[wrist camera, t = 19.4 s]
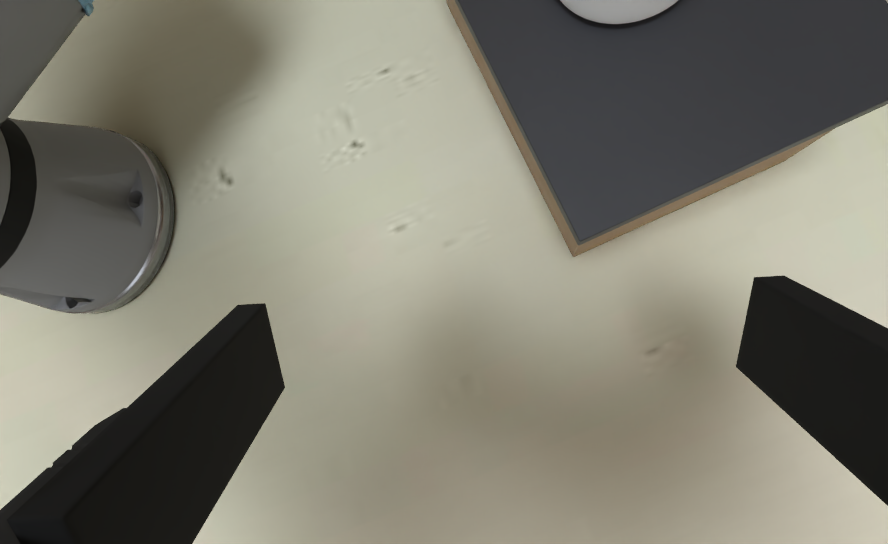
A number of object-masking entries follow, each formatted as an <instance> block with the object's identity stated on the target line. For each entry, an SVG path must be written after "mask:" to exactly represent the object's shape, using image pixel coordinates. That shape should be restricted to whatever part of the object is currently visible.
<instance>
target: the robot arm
mask: <svg viewBox="0 0 888 544" xmlns="http://www.w3.org/2000/svg"><path fill="white" fill-rule="evenodd" d="M93 1H94V0H0V294H2V295H5V296H8V297H11V298H15V299H18V300H21V301H25V302H28V303H31V304H35V305H38V306H41V307H45V308H48V309H51V310H56V311H62V312H67V313H102V312H107V311H111V310H114V309H116V308H119V307H121V306H123V305H125V304H126V303H128V302H129V301H131V300H132V299H134V298H135V297H136V296H137V295H139V294H140V293H141V292H142V291H143V290H144V289H145V288H146V286H147V285H148V284H149V283H150V282H151V280H152V279H153V278H154V276H155V275H156V273H157V271H158V270H159V268H160V266H161V264H162V262H163V260H164V258H165V255H166V253H167V250H168V247H169V244H170V241H171V236H172V231H173V224H174V201H173V193H172V189H171V185H170V182H169V178H168V176H167V174H166V171H165V169H164V168H163V166H162V164H161V162H160V161H159V160H158V158H157V157H156V156H155V155H154V153H153V152H152V151H150V150H149V149H148V148H147V147H146V146H144V145H143V144H141V143H140V142H138V141H136V140H133V139H131V138H129V137H126V136H124V135H121V134H119V133H116V132H114V131H110V130H105V129H101V128H96V127H87V126H76V125H66V124H55V123H45V122H35V121H24V120H15V119H11V118H8V116H9V115H10V114H11V112H12V111H13V110H14V108H15V107H16V106H17V104H18V103H19V102H20V100H21V99H22V98H23V96H24V95H25V94H26V92H27V91H28V90H29V88H30V87H31V86H32V84H33V83H34V82H35V80H36V79H37V78H38V76H39V75H40V74H41V72H42V71H43V70H44V68H45V67H46V66H47V64H48V63H49V62H50V60H51V59H52V58H53V56H54V55H55V54H56V52H57V51H58V50H59V48H60V47H61V46H62V44H63V43H64V42H65V40H66V39H67V38H68V36H69V35H70V34H71V32H72V31H73V30H74V28H75V27H76V26H77V24H78V23H79V22H80V21H81V19H82V18H83V17H84V15H85V14H86V15H87V16H90V15H91V13H92V12H93V9H94V8H93V5H92V3H93ZM736 367H737V368H738V369H739V370H740V371H741V372H742V373H743V374H744V375H745V376H747V377H748V378H749V379H750V380H751V381H752V382H753V383H754V384H755V385H756V386H757V387H759V388H760V389H761V390H762V391H763V392H764V393H765V394H766V395H767V396H768V397H770V398H771V399H772V400H773V401H774V402H775V403H776V404H777V405H778V406H779V407H780V408H782V409H783V410H784V411H785V412H786V413H787V414H788V415H789V416H790V417H791V418H792V419H794V420H795V421H796V422H797V423H798V424H799V425H800V426H801V427H802V428H803V429H804V430H806V431H807V432H808V433H809V434H810V435H811V436H812V437H813V438H814V439H815V440H817V441H818V442H819V443H820V444H821V445H822V446H823V447H824V448H825V449H826V450H827V451H829V452H830V453H831V454H832V455H833V456H834V457H835V458H836V459H837V460H838V461H839V462H841V463H842V464H843V465H844V466H845V467H846V468H847V469H848V470H849V471H850V472H851V473H853V474H854V475H855V476H856V477H857V478H858V479H859V480H860V481H861V482H862V483H863V484H865V485H866V486H867V487H868V488H869V489H870V490H871V491H872V492H873V493H874V494H876V495H877V496H878V497H879V498H880V499H881V500H882V501H883V502H884V503H885V504H886V505H888V328H886V327H884V326H882V325H880V324H878V323H876V322H874V321H872V320H870V319H868V318H866V317H864V316H862V315H860V314H858V313H856V312H854V311H852V310H850V309H848V308H846V307H845V306H843V305H841V304H839V303H837V302H835V301H833V300H831V299H829V298H827V297H825V296H823V295H821V294H819V293H817V292H815V291H813V290H811V289H809V288H807V287H805V286H803V285H801V284H799V283H797V282H795V281H793V280H791V279H789V278H788V277H786V276H771V277H754V281H753V286H752V291H751V296H750V301H749V305H748V310H747V315H746V320H745V325H744V330H743V335H742V340H741V344H740V349H739V354H738V359H737V364H736ZM284 388H285V386H284V381H283V377H282V373H281V369H280V364H279V360H278V356H277V352H276V347H275V343H274V339H273V335H272V330H271V326H270V322H269V318H268V313H267V309H266V305H265V304H247V305H237V306H236V307H235V308H234V309H233V310H232V311H231V312H230V313H229V314H228V315H227V316H226V317H224V318H223V319H222V320H221V321H220V322H219V323H218V324H217V325H216V326H215V327H214V328H213V329H212V330H210V331H209V332H208V333H207V334H206V335H205V336H204V337H203V338H202V339H201V340H200V341H199V342H198V343H196V344H195V345H194V346H193V347H192V348H191V349H190V350H189V351H188V352H187V353H186V354H185V355H184V356H182V357H181V358H180V359H179V360H178V361H177V362H176V363H175V364H174V365H173V366H172V367H171V368H170V369H168V370H167V371H166V372H165V373H164V374H163V375H162V376H161V377H160V378H159V379H158V380H157V381H156V382H154V383H153V384H152V385H151V386H150V387H149V388H148V389H147V390H146V391H145V392H144V393H143V394H142V395H140V396H139V397H138V398H137V399H136V400H135V401H134V402H133V403H132V404H131V405H130V406H129V407H128V408H123V409H121V410H120V411H118V412H116V413H115V414H113V415H111V416H110V417H108V418H106V419H105V420H103V421H101V422H100V423H98V424H97V425H95V426H94V427H93V428H92V429H90V430H89V431H88V432H87V433H86V434H85V435H84V436H83V437H81V438H80V439H79V440H78V441H77V442H76V443H75V444H74V445H72V449H71V450H67V451H66V452H65V453H64V454H62V455H61V456H60V457H59V458H58V459H57V460H56V461H55V462H53V466H52V467H51V468H47V469H46V470H45V471H43V472H42V473H41V474H40V475H39V476H38V477H37V478H36V479H34V480H33V481H32V482H31V483H30V484H29V485H28V486H27V487H26V488H24V489H23V490H22V491H21V492H20V493H19V494H18V495H17V496H15V497H14V498H13V499H12V500H11V501H10V502H9V503H8V504H7V505H5V506H4V507H3V508H2V509H1V510H0V544H192V543H193V541H194V540H195V538H196V536H197V535H198V533H199V531H200V530H201V528H202V526H203V524H204V523H205V521H206V519H207V518H208V516H209V514H210V513H211V511H212V509H213V508H214V506H215V504H216V503H217V501H218V499H219V498H220V496H221V494H222V492H223V491H224V489H225V487H226V486H227V484H228V482H229V481H230V479H231V477H232V476H233V474H234V472H235V471H236V469H237V467H238V466H239V464H240V462H241V460H242V459H243V457H244V455H245V454H246V452H247V450H248V449H249V447H250V445H251V444H252V442H253V440H254V439H255V437H256V435H257V434H258V432H259V430H260V428H261V427H262V425H263V423H264V422H265V420H266V418H267V417H268V415H269V413H270V412H271V410H272V408H273V407H274V405H275V403H276V402H277V400H278V398H279V396H280V395H281V393H282V391H283V390H284Z"/></svg>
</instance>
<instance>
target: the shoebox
mask: <svg viewBox="0 0 888 544" xmlns="http://www.w3.org/2000/svg"><path fill="white" fill-rule="evenodd" d="M446 1H447V4H448V7H449V9H450V11H451V13H452V15H453V17H454V19H455V21H456V23H457V25H458V27H459V29H460V31H461V33H462V35H463V37H464V39H465V41H466V43H467V45H468V47H469V49H470V51H471V53H472V55H473V57H474V59H475V61H476V63H477V65H478V67H479V69H480V71H481V73H482V75H483V77H484V79H485V81H486V83H487V85H488V87H489V89H490V91H491V93H492V95H493V97H494V99H495V101H496V103H497V105H498V107H499V109H500V111H501V113H502V115H503V117H504V119H505V121H506V123H507V125H508V127H509V129H510V131H511V133H512V135H513V137H514V139H515V141H516V143H517V145H518V147H519V149H520V151H521V153H522V155H523V157H524V159H525V161H526V163H527V165H528V167H529V169H530V171H531V173H532V175H533V177H534V179H535V181H536V183H537V185H538V187H539V189H540V191H541V193H542V195H543V197H544V199H545V201H546V203H547V205H548V207H549V209H550V211H551V213H552V215H553V217H554V220H555V222H556V224H557V226H558V228H559V230H560V232H561V234H562V236H563V238H564V240H565V242H566V244H567V246H568V248H569V250H570V252H571V254H572V256H573V257H575V256H577V255H579V254H581V253H583V252H586V251H588V250H590V249H592V248H594V247H597V246H599V245H601V244H603V243H605V242H608V241H610V240H612V239H614V238H616V237H619V236H621V235H623V234H625V233H627V232H630V231H632V230H634V229H636V228H638V227H641V226H643V225H645V224H647V223H649V222H652V221H654V220H656V219H658V218H660V217H663V216H665V215H667V214H669V213H671V212H674V211H676V210H678V209H680V208H682V207H684V206H687V205H689V204H691V203H693V202H695V201H698V200H700V199H702V198H704V197H706V196H709V195H711V194H713V193H715V192H717V191H720V190H722V189H724V188H726V187H728V186H731V185H733V184H735V183H737V182H739V181H742V180H744V179H746V178H748V177H750V176H753V175H755V174H757V173H759V172H761V171H764V170H766V169H768V168H770V167H772V166H775V165H777V164H779V163H781V162H783V161H785V160H787V159H788V158H790V157H791V156H793V155H794V154H796V153H798V152H799V151H801V150H802V149H804V148H805V147H807V146H808V145H810V144H812V143H813V142H815V141H816V140H818V139H819V138H821V137H822V136H824V135H825V134H827V133H829V132H830V131H832V130H833V129H835V128H836V127H838V126H841V125H843V124H845V123H847V122H849V121H852V120H854V119H856V118H858V117H860V116H862V115H865V114H867V113H869V112H871V111H873V110H875V109H878V108H880V107H882V106H884V105H886V104H888V3H887V2H886V0H678V1H677V2H676V3H675V4H673V5H672V6H670V7H669V8H667V9H666V10H664V11H662V12H660V13H658V14H656V15H654V16H652V17H649V18H646V19H643V20H640V21H636V22H631V23H624V24H606V23H599V22H594V21H591V20H588V19H585V18H583V17H581V16H579V15H577V14H575V13H574V12H572V11H571V10H569V9H568V8H567V7H566V6H565V5H564V4H563V3H562V2H561V1H560V0H446Z"/></svg>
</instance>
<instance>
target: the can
mask: <svg viewBox="0 0 888 544" xmlns="http://www.w3.org/2000/svg"><path fill="white" fill-rule="evenodd" d="M560 1H561V2H562V3H563V4H564V5H565V6H566V7H567V8H568V9H569V10H571V11H572V12H574V13H575V14H577V15H579V16H581V17H583V18H585V19H588V20H591V21H594V22H599V23H606V24H624V23H631V22H636V21H640V20H643V19H646V18H649V17H652V16H654V15H656V14H658V13H660V12H662V11H664V10H666V9H667V8H669V7H670V6H672V5H673V4H675V3H676V2H677V1H678V0H560Z"/></svg>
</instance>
